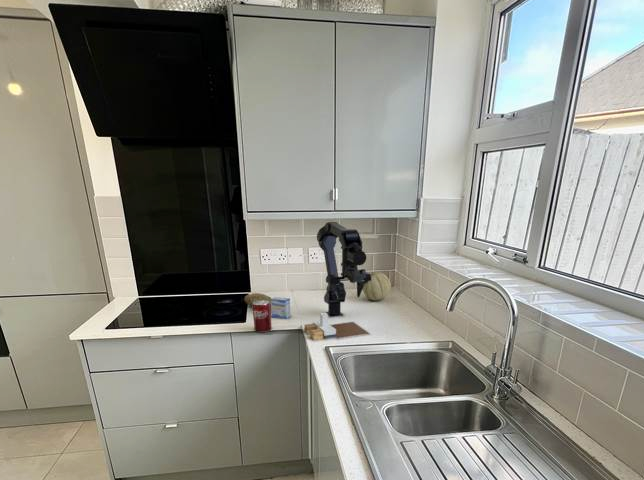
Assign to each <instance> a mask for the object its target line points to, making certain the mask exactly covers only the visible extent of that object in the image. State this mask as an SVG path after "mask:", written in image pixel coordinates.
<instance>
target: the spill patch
mask: <svg viewBox="0 0 644 480" xmlns="http://www.w3.org/2000/svg"><path fill="white" fill-rule="evenodd" d="M330 325H331V326H332V327H333V328H335V329H336V337H335V338H337V339H342V338H348V337H355V336H361V335H369V334H370V333H369V332H368V331H366V330H365V329H363V328H362V327H361V326H359V325H358V324H356V323H355V322H353V321H349V322H341V323H336V324H330Z"/></svg>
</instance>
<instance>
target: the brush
mask: <svg viewBox="0 0 644 480" xmlns="http://www.w3.org/2000/svg"><path fill="white" fill-rule="evenodd" d="M319 316H320V317H319V318H320V319H319V320H314V321H312V323H314V324H315V325H316V326H317V329H321V330H322V331H323V332H324V339H323V340H327V339H332V338H333V339H334V338H337V337H336V329H335V328H333V327H332V326H331V325H332V324H330V323H329V315H328V314H327V313H326V312H320V313H319Z"/></svg>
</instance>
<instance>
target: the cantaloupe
mask: <svg viewBox="0 0 644 480" xmlns="http://www.w3.org/2000/svg"><path fill="white" fill-rule="evenodd" d="M370 274H371V281H368V283H366V284H365V285H364V287H363V289H362V292H363V294H364V296H365V297H366V298H367V299H369V300H370V301H376V302H377V301H382V300H384V299H386V298H387V297H388V295H389V294H390V293H391V292H390V291H391V289H392V287H391V286H392V285H391V281H390V279H389V278H388V276H387V275H385V274H384V272H379V271H378V272H375V271H374V272H371V273H370Z"/></svg>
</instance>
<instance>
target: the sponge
mask: <svg viewBox="0 0 644 480" xmlns="http://www.w3.org/2000/svg"><path fill="white" fill-rule="evenodd" d="M272 298H273V297H271V296H269V295H267V294H264V293H259V292H253V293H250V294H246V295H245V296H244V302H245V304H247V305H249V306H250V307H252V304H253V302H255V301H268V302H269V303H270V309H271V299H272Z"/></svg>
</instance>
